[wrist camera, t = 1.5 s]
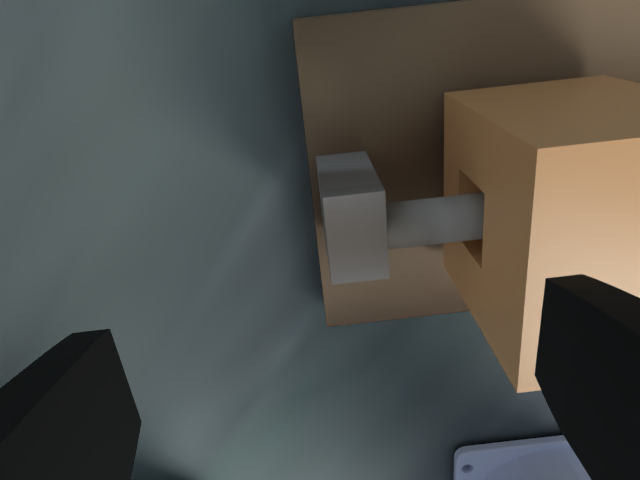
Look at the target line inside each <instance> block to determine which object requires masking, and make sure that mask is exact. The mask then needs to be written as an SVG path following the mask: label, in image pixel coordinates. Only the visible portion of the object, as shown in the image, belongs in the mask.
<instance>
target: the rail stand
mask: <svg viewBox="0 0 640 480" xmlns="http://www.w3.org/2000/svg"><path fill="white" fill-rule="evenodd" d="M292 23H293V32H294V41H295V50H296V58H297V67H298V76H299V85H300V94H301V103H302V112H303V120H304V129H305V138H306V147H307V156H308V165H309V174H310V182H311V191H312V200H313V209H314V218H315V227H316V236H317V244H318V253H319V262H320V271H321V280H322V289H323V298H324V306H325V315H326V324H327V327H332V326H341V325H350V324H359V323H368V322H376V321H385V320H394V319H403V318H412V317H421V316H430V315H439V314H447V313H456V312H465V311H469V309H468V307H467V305H466V304H465V302H464V300H463V298H462V297H461V295H460V293H459V291H458V290H457V288H456V286H455V284H454V283H453V281H452V279H451V278H450V276H449V274H448V272H447V271H446V269H445V267H444V265H443V243H451V242H460V241H469V240H478V239H483V221H484V197H485V194H484V193H483V192H480V193H471V194H462V195H453V196H445V197H444V93H445V92H454V91H463V90H472V89H481V88H490V87H499V86H508V85H517V84H526V83H535V82H544V81H553V80H562V79H571V78H580V77H589V76H598V75H606V76H610V77H615V78H619V79H623V80H627V81H631V82H636V83H640V0H458V1H449V2H440V3H431V4H422V5H413V6H404V7H395V8H386V9H377V10H368V11H358V12H349V13H340V14H331V15H322V16H313V17H304V18H295V19H292Z"/></svg>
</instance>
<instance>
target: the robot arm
mask: <svg viewBox="0 0 640 480" xmlns="http://www.w3.org/2000/svg"><path fill="white" fill-rule="evenodd" d="M535 377H536V379H537V382H538V384H539V386H540V388H541V390H542V393H543V395H544V397H545V399H546V402H547V404H548V406H549V408H550V410H551V412H552V414H553V416H554V418H555V420H556V422H557V424H558V426H559V428H560V430H561V432H562V434H563V435H558V436H550V437H541V438H532V439H523V440H515V441H506V442H497V443H488V444H479V445H471V446H464V447H461V448H459V449H457V451H456V452H455V454H454V480H640V298H639V297H637V296H634V295H632V294H630V293H628V292H625V291H623V290H621V289H619V288H616V287H614V286H612V285H609V284H607V283H605V282H602V281H600V280H597V279H595V278H592V277H589V276H586V275H584V274H578V275H570V276H561V277H552V278H546V279H545V288H544V297H543V305H542V314H541V323H540V332H539V340H538V349H537V358H536V366H535ZM140 426H141V419H140V416H139V413H138V410H137V407H136V404H135V401H134V399H133V396H132V393H131V390H130V387H129V384H128V381H127V378H126V375H125V372H124V369H123V366H122V363H121V360H120V358H119V355H118V352H117V349H116V346H115V343H114V340H113V337H112V334H111V331H110V329H105V330H96V331H87V332H79V333H72V334H71V335H69V336H68V337H66V338H65V339H63V340H62V341H60V342H59V343H58V344H56V345H55V346H54V347H52V348H51V349H50V350H48V351H47V352H46V353H44V354H43V355H42V356H41V357H39V358H38V359H37V360H35V361H34V362H33V363H32V364H30V365H29V366H28V367H27V368H25V369H24V370H23V371H22V372H20V373H19V374H18V375H17V376H15V377H14V378H13V379H12V380H10V381H9V382H8V383H7V384H5V385H4V386H3V387H2V388H0V480H130V478H131V473H132V469H133V464H134V459H135V454H136V449H137V443H138V438H139V432H140ZM467 464H468V465H467ZM464 465H465V466H464Z"/></svg>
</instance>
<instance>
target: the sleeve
mask: <svg viewBox="0 0 640 480" xmlns="http://www.w3.org/2000/svg"><path fill="white" fill-rule="evenodd" d="M480 192H483V193H484V194H485V197H484V221H483V239H478V240H469V241H460V242H451V243H443V265H444V267H445V269H446V271H447V272H448V274H449V276H450V278H451V279H452V281H453V283H454V284H455V286H456V288H457V290H458V291H459V293H460V295H461V297H462V298H463V300H464V302H465V304H466V305H467V307H468V309H469V311H470V312H471V314H472V316H473V317H474V319H475V321H476V323H477V324H478V326H479V328H480V330H481V331H482V333H483V335H484V337H485V338H486V340H487V342H488V344H489V345H490V347H491V349H492V350H493V352H494V354H495V356H496V357H497V359H498V361H499V363H500V364H501V366H502V368H503V370H504V371H505V373H506V375H507V377H508V378H509V380H510V382H511V383H512V385H513V387H514V389H515V390H516V392H517V393H522V392H531V391H540V390H541V388H540V386H539V384H538V382H537V379H536V377H535V366H536V358H537V349H538V340H539V332H540V323H541V314H542V305H543V297H544V288H545V279H546V278H552V277H561V276H570V275H578V274H584V275H586V276H589V277H592V278H595V279H597V280H600V281H602V282H605V283H607V284H609V285H612V286H614V287H616V288H619V289H621V290H623V291H625V292H628V293H630V294H632V295H634V296H637V297H639V298H640V83H636V82H631V81H627V80H623V79H619V78H615V77H610V76H606V75H598V76H589V77H580V78H571V79H562V80H553V81H544V82H535V83H526V84H517V85H508V86H499V87H490V88H481V89H472V90H463V91H454V92H445V93H444V197H445V196H453V195H462V194H471V193H480Z"/></svg>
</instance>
